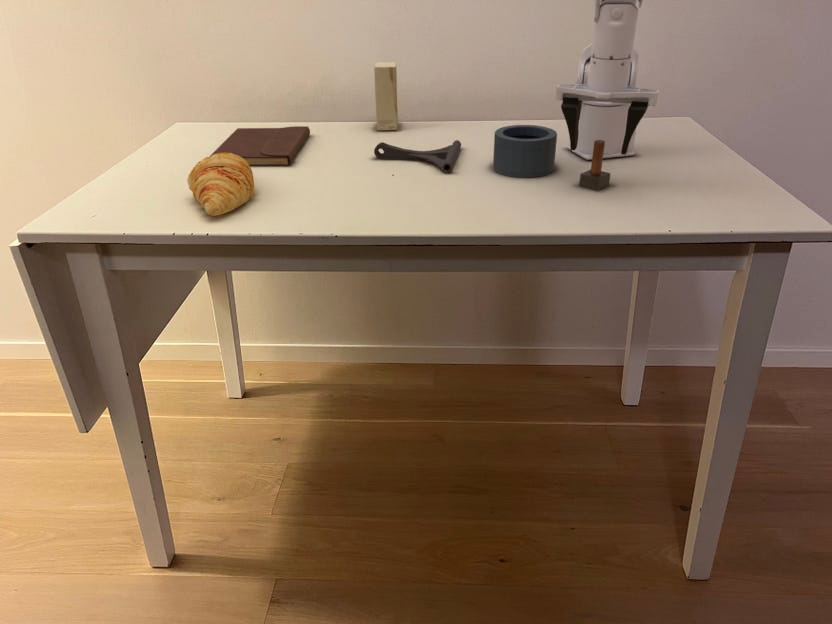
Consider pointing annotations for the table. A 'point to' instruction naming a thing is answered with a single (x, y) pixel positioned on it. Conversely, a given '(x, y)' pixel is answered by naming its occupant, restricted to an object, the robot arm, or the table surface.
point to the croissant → (221, 182)
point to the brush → (596, 170)
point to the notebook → (266, 144)
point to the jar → (524, 150)
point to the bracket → (421, 154)
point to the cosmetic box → (386, 95)
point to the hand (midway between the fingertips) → (598, 150)
